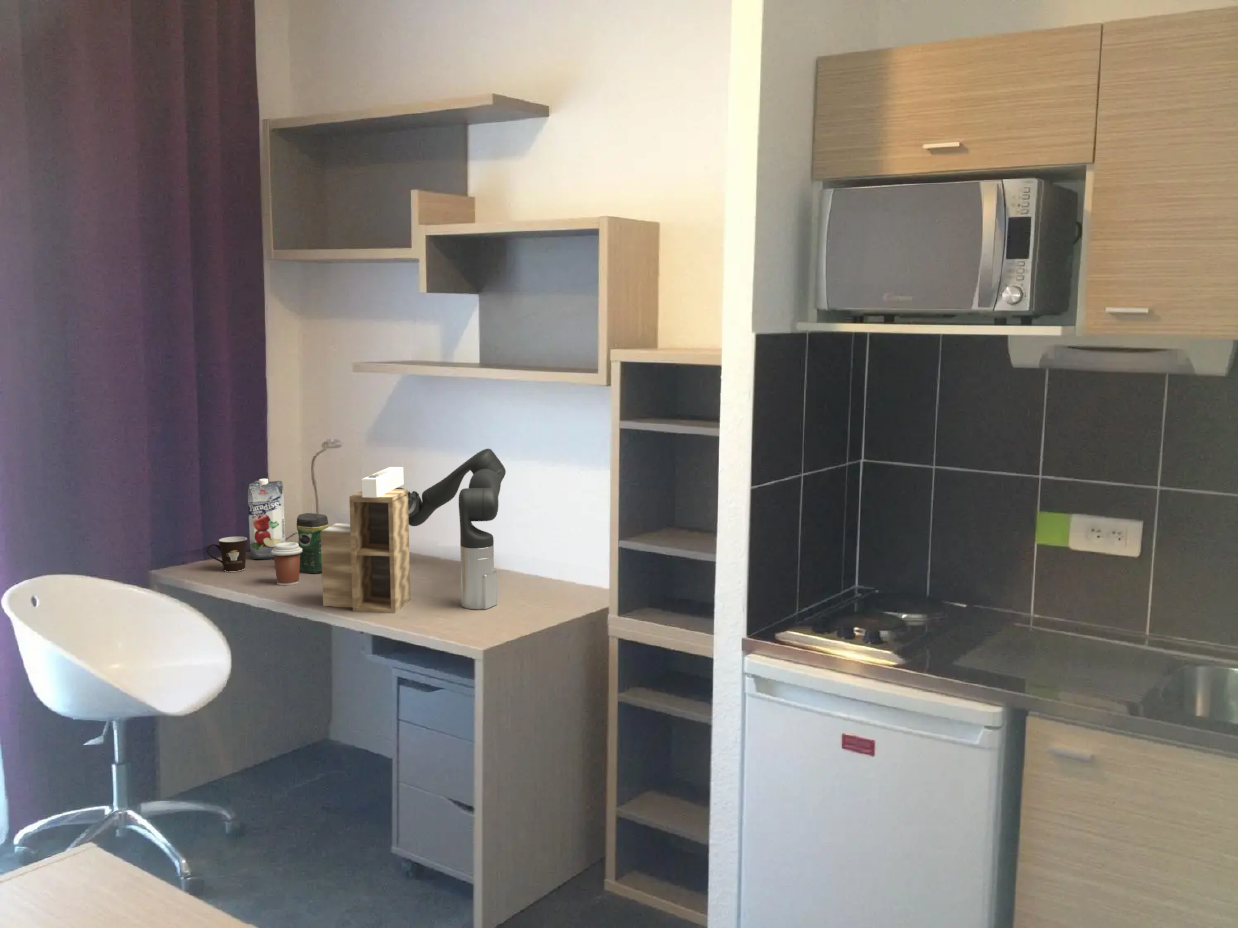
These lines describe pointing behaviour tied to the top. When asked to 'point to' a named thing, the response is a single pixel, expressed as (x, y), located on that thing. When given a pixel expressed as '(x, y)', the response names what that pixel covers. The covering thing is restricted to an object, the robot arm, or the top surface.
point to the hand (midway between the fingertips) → (388, 493)
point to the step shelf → (368, 555)
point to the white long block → (382, 482)
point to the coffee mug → (232, 552)
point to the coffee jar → (311, 541)
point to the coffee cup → (287, 562)
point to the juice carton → (265, 517)
